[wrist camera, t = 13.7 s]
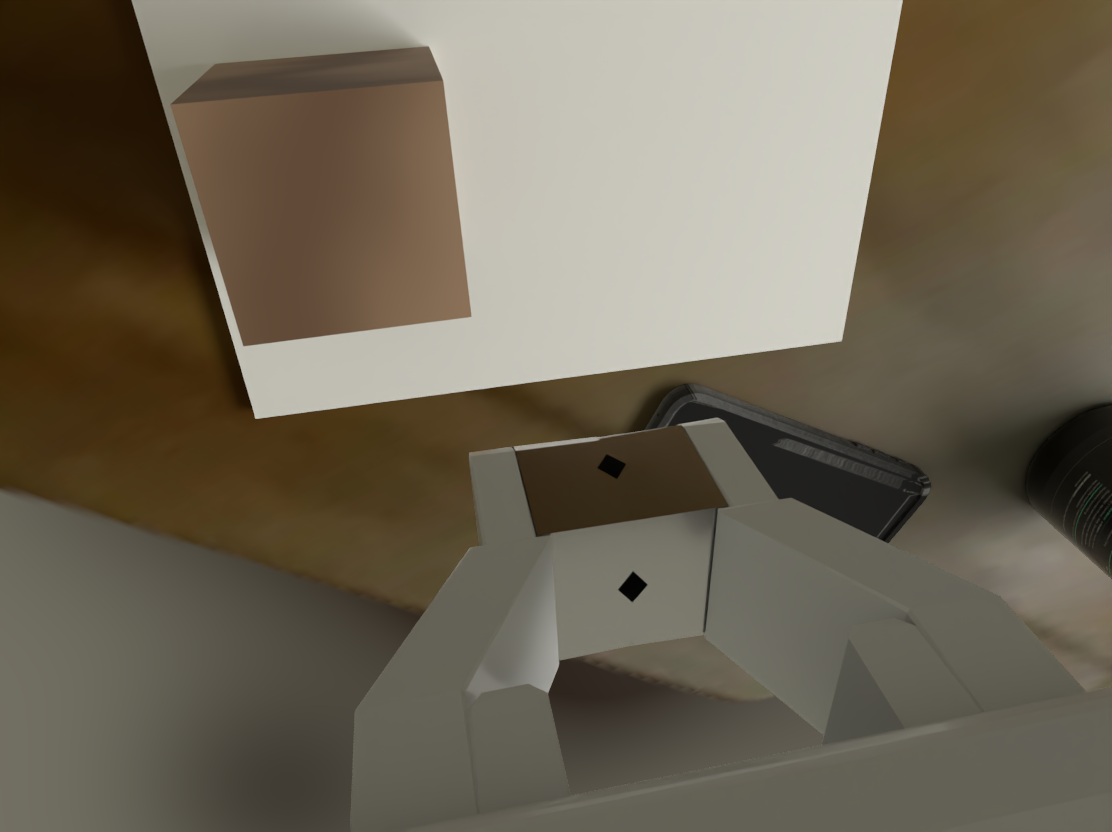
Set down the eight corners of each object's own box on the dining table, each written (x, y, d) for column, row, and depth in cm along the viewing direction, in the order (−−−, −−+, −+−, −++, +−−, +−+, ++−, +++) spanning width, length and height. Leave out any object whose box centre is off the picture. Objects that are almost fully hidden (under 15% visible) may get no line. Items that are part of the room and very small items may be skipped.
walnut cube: (170, 104, 17) (217, 61, 22) (243, 346, 20) (269, 260, 26) (443, 80, 18) (428, 44, 23) (471, 317, 21) (452, 239, 26)
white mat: (931, -227, 22) (943, -231, 22) (834, 334, 32) (841, 341, 32) (77, -207, 19) (69, -210, 19) (257, 410, 29) (255, 418, 28)
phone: (843, 596, 40) (593, 529, 34) (832, 580, 41) (587, 513, 35) (942, 479, 37) (685, 384, 31) (928, 465, 38) (676, 370, 32)
